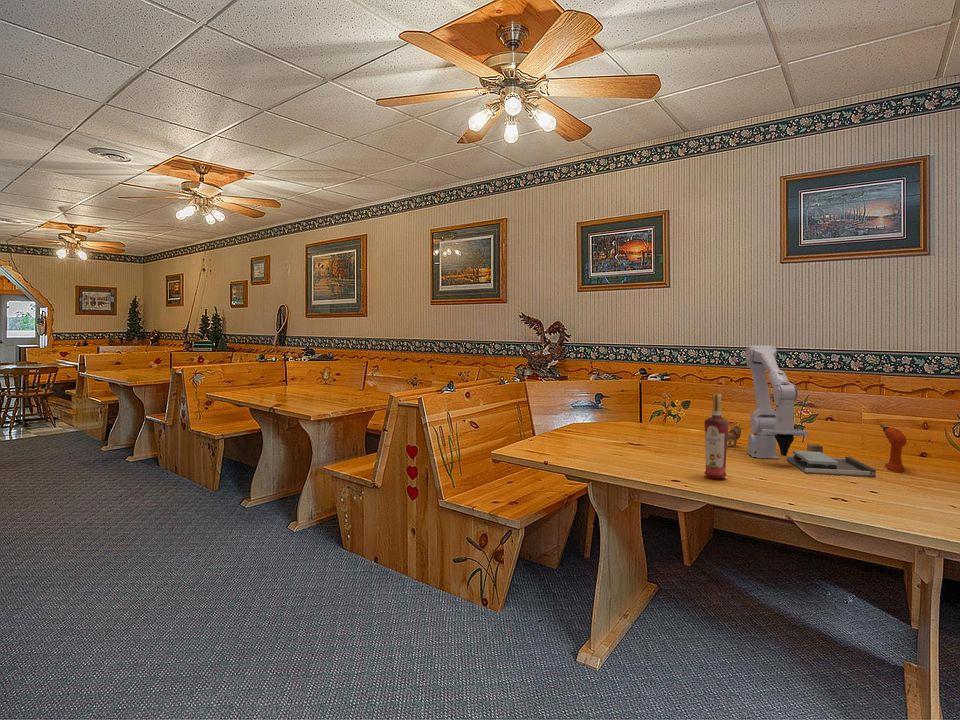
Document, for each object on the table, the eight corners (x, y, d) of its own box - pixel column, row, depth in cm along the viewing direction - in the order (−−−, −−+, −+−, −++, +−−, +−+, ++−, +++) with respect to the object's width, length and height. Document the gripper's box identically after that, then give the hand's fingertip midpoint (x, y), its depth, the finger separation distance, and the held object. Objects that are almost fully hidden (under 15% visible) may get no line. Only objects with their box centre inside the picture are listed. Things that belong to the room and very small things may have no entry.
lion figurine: (734, 444, 227) (734, 424, 227) (744, 447, 222) (744, 426, 222) (707, 447, 222) (708, 426, 222) (717, 449, 217) (718, 428, 217)
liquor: (730, 477, 175) (732, 394, 174) (722, 482, 170) (724, 396, 168) (708, 473, 180) (710, 392, 179) (699, 477, 175) (701, 394, 173)
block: (810, 458, 201) (811, 445, 201) (807, 456, 205) (807, 443, 205) (822, 459, 200) (822, 446, 200) (818, 457, 204) (818, 444, 204)
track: (805, 473, 180) (805, 466, 180) (786, 460, 198) (786, 454, 198) (875, 477, 175) (875, 469, 175) (849, 463, 193) (850, 456, 193)
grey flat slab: (808, 470, 181) (808, 460, 181) (792, 459, 196) (792, 450, 196) (838, 471, 179) (838, 462, 178) (819, 460, 194) (819, 451, 194)
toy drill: (886, 456, 198) (889, 418, 195) (907, 475, 181) (911, 433, 178) (870, 455, 200) (874, 417, 197) (890, 474, 182) (894, 432, 180)
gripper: (765, 419, 187) (764, 456, 187) (811, 420, 183) (810, 458, 184) (760, 416, 194) (759, 452, 194) (803, 417, 190) (803, 454, 191)
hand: (783, 455), depth 190 cm, fingers closed
